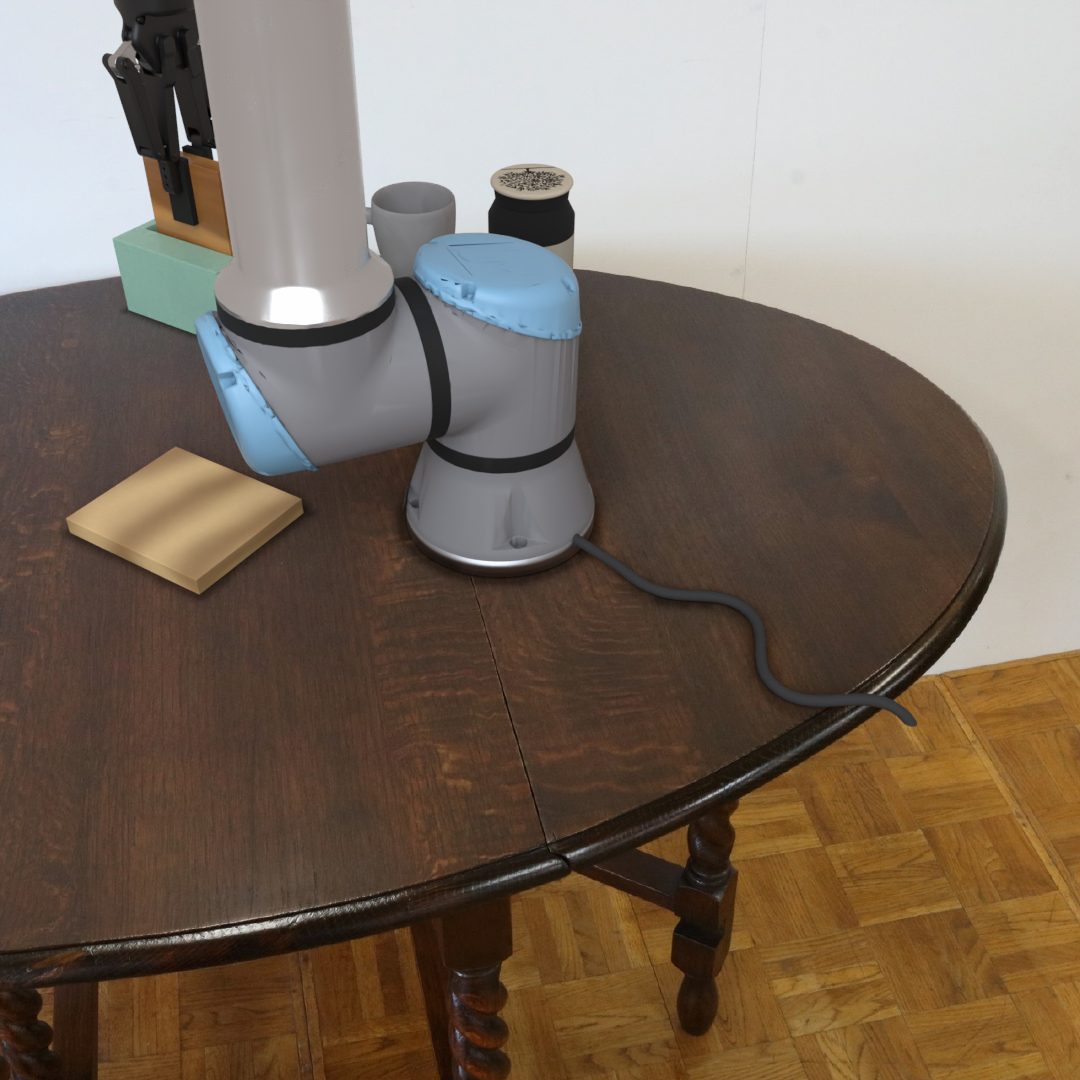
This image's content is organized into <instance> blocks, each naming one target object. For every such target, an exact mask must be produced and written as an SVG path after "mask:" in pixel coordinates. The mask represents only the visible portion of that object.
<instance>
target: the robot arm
mask: <svg viewBox="0 0 1080 1080" xmlns="http://www.w3.org/2000/svg"><path fill="white" fill-rule="evenodd" d="M112 1H113V5H114V7H115V8H116V10H117V11H118V13H119V14H120V16H121V19H122V28H121V29H122V30H121V33H120V35H121V41H122V43H120V46H119V47H118V48H117V49H116V50H115V52H114V53H113V54H112V53H109V52H106V53H104V54H103V55H102V57H101V63H102V66H103V67H104V68H105V70H106V71H107V72H108V74H109V75H110V77H111V78H112V79H113V83H114V85H115V88H116V92H117V94H118V97H119V101H120V104H121V107H122V110H123V113H124V117H125V119H126V122H127V125H128V129H129V132H130V135H131V138H132V141H133V144H134V147H135V151H136V153H137V154H138V156H140V157H142V156H143V157H147V158H150V159H154V160H157V161H158V165H159V170H160V175H161V180H162V186H163V188H164V190H165V192H168V193H169V197H170V203H171V208H172V213H173V219H174V220H175V221H178V222H182V223H185V224H188V225H191V226H195V225H198V224H199V221H198V215H197V209H196V204H195V198H194V192H193V187H192V181H191V175H190V169H189V161H188V158H184V157H181V156H180V151H182V152H186V153H189V154H193V155H196V156H200V157H204V158H207V159H211V160H215V159H214V153H213V149H214V150H216V155H217V161H218V162H219V168H220V175H221V181H222V188H223V194H224V201H225V207H226V214H227V220H228V227H229V233H230V239H231V246H232V252H233V258H232V259H231V260H230V261H229V263H228V264H227V265H226V266H225V267H224V268H223V269H222V270H221V271H220V272H219V274H218V275H217V277H216V279H215V283H214V294H215V300H216V306H217V311H208V312H206V313H205V314H202V315H200V316H199V317H197V318H196V319H195V322H194V327H195V328H196V334H195V335H196V338H197V342H198V345H199V348H200V351H201V354H202V358H203V360H204V363H205V366H206V369H207V372H208V374H209V377H210V380H211V383H212V386H213V388H214V390H215V391H214V392H215V393H216V396H217V399H218V401H219V404H220V407H221V409H222V411H223V414H224V416H225V419H226V422H227V424H228V426H229V428H230V429H229V430H230V431H231V434H232V436H233V438H234V441H235V443H236V446H237V447H238V450H239V453H240V454H241V457H242V458H243V460H244V462H245V463H246V465H247V466H248V467H249V468H250V469H251V470H252V471H254V472H256V473H257V474H259V475H262V476H266V477H275V476H279V475H280V476H281V475H285V474H290V473H295V472H300V471H301V472H302V471H307V470H308V471H310V472H316V471H319V470H320V469H319V468H321V467H325V466H329V465H333V464H338V463H341V462H346V461H350V460H355V459H359V458H363V457H366V456H371V455H374V454H378V453H379V454H380V453H384V452H387V451H391V450H396V449H399V448H400V449H401V448H403V447H407V446H412V445H416V444H420V443H422V447H421V450H420V453H419V456H418V459H417V461H416V465H415V468H414V471H413V473H412V472H410V473H409V478H408V482H407V485H406V489H405V493H404V497H403V504H402V509H404V507H405V518H406V527H407V531H408V534H409V536H410V538H411V540H412V542H413V543H414V545H415V546H416V547H417V548H418V550H420V552H422V554H423V555H425V556H426V557H428V558H429V559H431V560H432V561H434V562H435V563H436V564H439V565H441V566H443V567H445V568H447V569H450V570H453V571H456V572H458V573H462V574H466V575H471V576H477V577H486V578H513V577H522V576H523V577H524V576H528V575H533V574H537V573H540V572H543V571H547V570H549V569H552V568H554V567H557V566H559V565H560V564H562V563H565V562H566V561H567V560H569V559H571V558H572V557H574V556H575V555H576V554H577V553H578V552H579V551H580V550H582V551H584V552H586V553H587V554H588V555H590V556H591V557H593V558H595V559H596V560H598V561H599V562H601V563H603V564H604V565H606V566H608V567H609V568H610V569H612V570H613V571H614V572H616V573H617V574H619V575H620V576H621V577H623V578H624V579H625V580H626V581H628V582H629V583H631V584H632V585H633V586H635V587H637V588H638V589H639V590H642V591H644V592H645V593H648V594H650V595H652V596H657V597H659V598H662V599H668V600H672V601H673V600H675V601H683V602H704V603H714V604H718V605H720V604H721V605H724V606H727V607H729V608H732V609H734V610H736V611H738V612H740V613H741V615H743V616H744V617H746V619H747V620H748V621H749V623H750V625H751V627H752V631H753V639H754V661H755V667H756V671H757V673H758V675H759V678H760V679H761V681H762V682H763V683H764V685H765V686H766V687H767V689H769V690H770V691H771V692H772V693H774V695H776V696H777V697H779V698H780V699H782V700H784V701H786V702H787V703H788V702H789V703H792V704H794V705H798V706H803V707H811V708H836V707H853V706H854V707H859V706H864V707H874V708H878V709H882V710H885V711H887V712H890V713H891V714H892V715H894V716H895V717H897V718H898V719H899V720H900V721H901V722H902V723H903V724H904V725H906V726H907V727H910V728H911V727H912V728H915V727H917V726H918V722H917V720H916V718H915V717H914V715H913V714H912V712H910V711H909V710H908V709H907V708H906V707H905V706H903V705H902V704H900V703H899V702H897V701H896V700H894V699H892V698H889V697H887V696H884V695H880V694H876V693H865V692H856V693H855V692H850V693H834V694H831V693H830V694H811V693H804V692H799V691H797V690H793V689H791V688H789V687H788V686H785V685H784V684H783V683H781V682H780V681H779V680H777V678H776V677H775V675H774V674H773V673H772V671H771V670H770V667H769V666H770V665H769V663H768V655H767V654H768V653H767V652H768V651H767V635H766V634H767V633H766V628H765V624H764V623H763V619H762V618H761V616H760V615H759V614H758V612H757V611H756V610H755V608H753V606H751V605H750V604H748V602H746V601H744V600H742V599H741V598H740V597H736V596H734V595H731V594H729V593H725V592H721V591H713V590H699V589H696V590H695V589H680V588H673V587H667V586H663V585H660V584H657V583H654V582H652V581H651V580H649V579H646V578H644V577H643V576H641V575H640V574H638V573H636V572H635V571H634V570H633V569H631V568H630V567H629V566H627V565H626V564H625V563H624V562H622V561H621V560H620V559H618V558H617V557H615V556H614V555H612V554H610V553H609V552H607V551H606V550H605V549H603V548H601V547H599V546H598V545H596V544H595V543H593V542H591V541H590V540H589V538H590V537H591V534H592V533H593V528H594V523H595V507H596V506H595V503H596V502H595V497H594V493H593V488H592V486H591V484H590V481H589V478H588V477H587V473H586V470H585V466H584V463H583V459H582V457H581V454H580V451H579V447H578V445H577V442H576V417H577V416H576V415H577V396H578V395H577V394H578V377H579V375H578V372H579V355H580V354H579V353H580V352H579V351H580V350H579V349H580V335H581V333H582V330H583V322H582V319H581V306H580V286H579V282H578V279H577V276H576V274H575V272H574V270H573V271H572V269H571V268H570V267H569V265H568V264H567V263H566V262H565V261H564V260H563V259H561V258H560V257H559V256H557V255H556V254H554V253H553V252H551V251H549V250H548V249H546V248H544V247H541V246H539V245H537V244H534V243H531V242H528V241H525V240H521V239H518V238H514V237H510V236H505V235H498V234H490V233H488V232H457V233H455V234H448V235H444V236H440V237H437V238H434V239H432V240H431V241H429V242H428V244H424V245H423V246H421V247H420V248H419V250H418V252H417V254H416V257H415V260H414V261H413V264H412V267H413V273H414V274H413V275H410V276H405V277H400V278H395V279H394V276H393V272H392V269H391V267H390V266H389V264H388V263H387V262H386V261H385V260H384V259H383V258H381V257H380V256H381V255H380V254H378V253H377V252H375V251H374V250H373V249H371V248H370V247H369V233H368V224H367V220H366V207H367V206H366V195H365V194H366V193H365V183H364V181H365V180H364V170H363V155H362V144H361V130H360V129H361V128H360V117H359V116H360V115H359V104H358V89H357V78H356V77H357V76H356V66H355V65H356V63H355V50H354V37H353V23H352V12H351V0H112ZM175 97H176V99H175ZM176 101H177V105H178V108H179V113H180V117H181V120H182V121H181V122H182V124H183V129H184V132H185V136H186V140H187V141H188V142H189V143H190V144H191V145H190V144H186V145H183V146H181V145H180V137H179V127H178V116H177V108H176ZM180 146H181V148H180ZM143 157H142V158H143ZM379 255H380V256H379ZM411 473H412V476H411ZM403 511H404V510H402V511H401V512H402V513H403Z"/></svg>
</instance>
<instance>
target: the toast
mask: <svg viewBox="0 0 1080 1080" xmlns="http://www.w3.org/2000/svg"><path fill="white" fill-rule="evenodd" d="M180 156H181V157H184V158H188V161H189V169H190V175H191V181H192V187H193V192H194V198H195V204H196V209H197V215H198V221H199V224H198V225H195V226H191V225H188V224H185V223H182V222H178V221H175V220H174V219H173V213H172V208H171V203H170V197H169V193H168V192H165V190H164V188H163V186H162V180H161V175H160V170H159V165H158V161H157V160H154V159H150V158H147V157H143V156H141V157H142V162H143V167H144V172H145V177H146V182H147V186H148V192H149V198H150V202H151V206H152V207H151V208H152V212H153V218H154V219H155V222H156V227H157V232H158V233H161V234H164V235H167V236H170V237H173V238H176V239H179V240H182V241H185V242H189V243H192V244H195V245H198V246H201V247H204V248H207V249H210V250H213V251H217V252H220V253H223V254H226V255H229V256H232V257H233V252H232V246H231V239H230V233H229V227H228V220H227V214H226V207H225V201H224V194H223V188H222V181H221V175H220V168H219V162H218V160H215V159H214V160H211V159H207V158H204V157H200V156H196V155H193V154H189V153H186V152H183V151H182V150H180Z"/></svg>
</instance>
